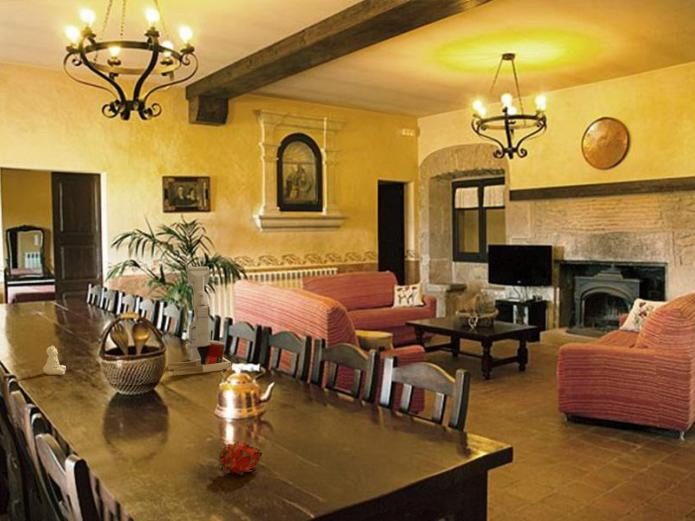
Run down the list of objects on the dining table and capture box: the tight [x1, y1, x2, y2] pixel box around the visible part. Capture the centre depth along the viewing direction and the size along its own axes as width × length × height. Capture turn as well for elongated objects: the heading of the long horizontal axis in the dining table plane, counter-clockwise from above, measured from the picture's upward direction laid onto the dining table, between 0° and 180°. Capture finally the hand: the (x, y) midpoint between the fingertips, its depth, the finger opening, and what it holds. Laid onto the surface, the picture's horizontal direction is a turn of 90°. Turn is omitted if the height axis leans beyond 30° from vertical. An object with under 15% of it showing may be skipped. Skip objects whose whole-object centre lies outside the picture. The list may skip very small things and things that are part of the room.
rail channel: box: [167, 360, 204, 377], centre depth 260 cm, size 13×12×2 cm
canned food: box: [203, 339, 226, 365], centre depth 266 cm, size 8×8×11 cm
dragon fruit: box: [218, 441, 263, 476], centre depth 152 cm, size 8×8×12 cm
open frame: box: [195, 357, 232, 373], centre depth 266 cm, size 13×12×3 cm
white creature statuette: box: [42, 345, 67, 376], centre depth 257 cm, size 10×9×12 cm
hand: (203, 363), depth 263 cm, fingers closed, pressing on canned food
